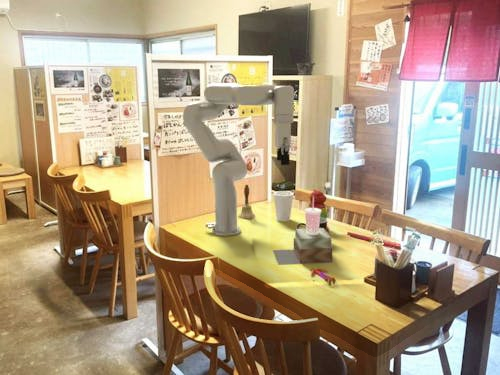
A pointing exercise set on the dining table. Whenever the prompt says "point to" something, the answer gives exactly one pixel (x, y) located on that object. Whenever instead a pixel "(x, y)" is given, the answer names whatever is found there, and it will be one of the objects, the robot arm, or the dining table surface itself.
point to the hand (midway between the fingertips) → (282, 162)
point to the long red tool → (388, 243)
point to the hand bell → (246, 206)
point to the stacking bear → (319, 204)
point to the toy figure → (322, 275)
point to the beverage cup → (312, 220)
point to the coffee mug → (321, 225)
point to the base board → (289, 257)
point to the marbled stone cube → (312, 246)
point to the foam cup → (283, 205)
